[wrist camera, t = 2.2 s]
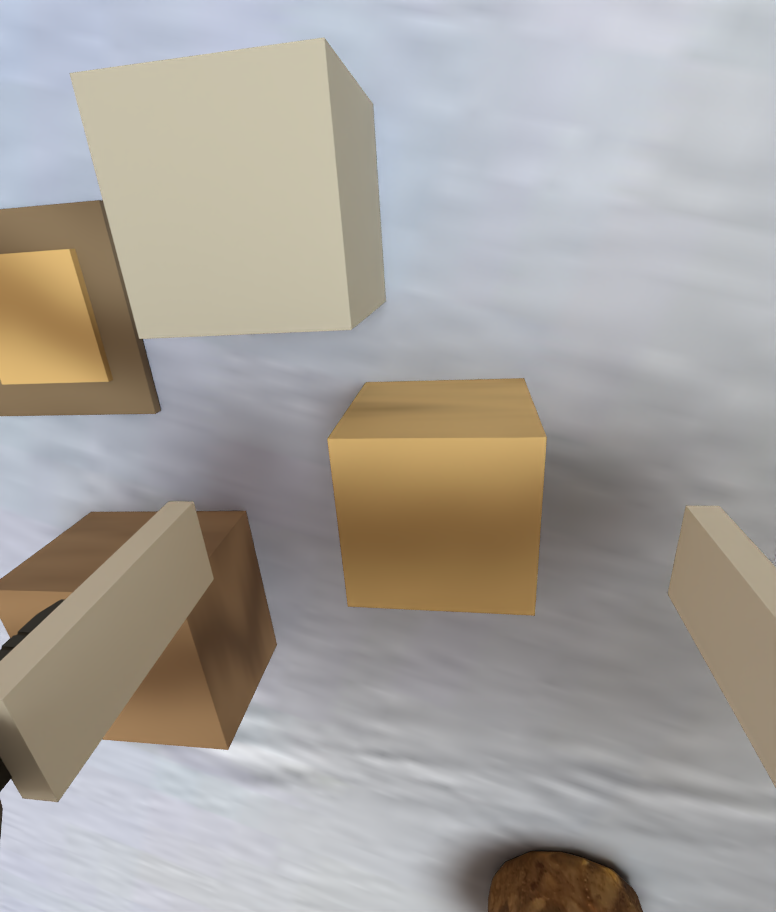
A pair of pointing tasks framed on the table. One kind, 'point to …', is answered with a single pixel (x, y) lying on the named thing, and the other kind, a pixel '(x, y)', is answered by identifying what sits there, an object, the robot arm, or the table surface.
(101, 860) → the table surface
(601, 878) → the shell
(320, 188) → the beige cube
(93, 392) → the tile
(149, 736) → the walnut block
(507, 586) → the maple cube
